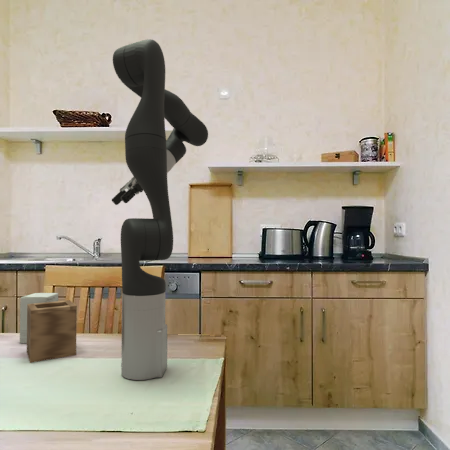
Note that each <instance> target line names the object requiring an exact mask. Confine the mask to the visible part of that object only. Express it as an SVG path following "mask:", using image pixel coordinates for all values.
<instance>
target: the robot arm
mask: <svg viewBox="0 0 450 450" xmlns="http://www.w3.org/2000/svg"><path fill="white" fill-rule="evenodd" d="M112 66H113V69H114V72H115V73H116V76H117V77H118V79H119V80H120V82H121V83H122V84H123V85H124V86H125V87H127V88H128V89H129V90H130V91H132V92H133V93H134V94H135V95H137V96H138V97H139V98H140V100H139V102H138V104H137V107H136V108H135V111H133V113H132V116H131V118H130V120H129V121H128V123H127V124H128V125H127V127H126V129H125V133H124V144H125V145H124V150H125V151H124V152H125V153H124V155H125V162H126V166H127V168H128V169H129V171H130V173H131V174H132V177H131V179H130V180H129V181H128V182H126V183H125V184H124V185H123V186H122V187H120V189H119V192H118V193H117V194H116V195H115V196H114V197H113V198H111V202H112V203H113V204H114V205H115V206H119V204H120V203H122V202H123V203H124V204H128V203H129V202H130V201H131V200H132V199H133V198H134V197H135V196H137V195H139V194H140V193H143V192H144V194H145V196H146V197H147V200H148V201H149V206H150V208H151V212H152V218H145V217H144V218H143V217H142V218H137V217H135V218H126V219H125V220H124V221H123V223H122V225H121V228H120V254H121V256H120V257H121V287H122V288H121V362H120V363H121V365H120V367H121V376H122V377H123V378H125V379H127V380H135V381H143V380H151V379H155V378H162V377H163V375H164V374H165V372H166V370H167V368H168V324H166V280H165V279H164V278H163V277H160V276H157V275H154V274H151V273H148V272H147V271H145V270H144V269H142V267H141V264H140V262H145V261H147V262H148V261H165V260H166V261H167V260H168V259H169V258H170V257H171V256H172V254H173V250H174V232H173V230H174V229H173V221H172V220H173V219H172V213H171V212H172V211H171V206H170V198H169V196H170V195H169V185H168V173H169V172H170V171H172V169H173V168H174V166H175V165H176V164H177V163H178V162H179V161H180V160H181V159H182V158H183V157H184V156H185V154H186V153H187V147H186V144H184V142H185V143H188V144H190V145H191V146H194V147H201V146H204V144H206V143H207V142H208V138H209V131H208V127H207V126H206V125H205V123H204V122H203V121H202V120H200V119H199V118H198V117H197V116H196V115H195V114H194V113H192V112H191V110H190V109H189V107H188V106H187V105H186V103H185V102H184V101H183V99H181V97H180V96H178V95H177V94H175V93H173V92H171V90H168V89H166V61H165V56H164V52H163V49H162V47H161V45H160V44H159V43H158V42H157V41H156V40H154V39H148V38H147V39H144V40H140V41H136V42H132V43H129V44H127V45H124V46H120V47H118V48H116V49H115V51H114V52H113V55H112ZM165 120H166V122H168V124H169V125H170V126H171V127H172V128H173V129H172V130H171V132H170V134H169V136H168V137H167V136H166V134H167V133H166V127H165V126H166V123H165Z"/></svg>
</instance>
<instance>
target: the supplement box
mask: <svg viewBox="0 0 450 450" xmlns="http://www.w3.org/2000/svg"><path fill="white" fill-rule="evenodd" d="M55 301H59V292H34V293H31V294H28V295H24V296H21V297H20V304H19V305H20V309H19V310H20V313H19V344H27V304H33V303H44V302H55Z"/></svg>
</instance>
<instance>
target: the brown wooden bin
mask: <svg viewBox="0 0 450 450" xmlns="http://www.w3.org/2000/svg"><path fill="white" fill-rule="evenodd" d="M77 310H78V309H77V305H76V304H75V303H74V302H73V301H72V300H70V299H67V300H65V299H64V300H58V301H55V302H44V303H33V304H27V343H26V353H27V356H28V360H29V364H32V363H38V362H42V361H48V360H56V359H60V358H66V357H71V356H73V357H74V356H77V320H78V319H77V313H78V312H77Z"/></svg>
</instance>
